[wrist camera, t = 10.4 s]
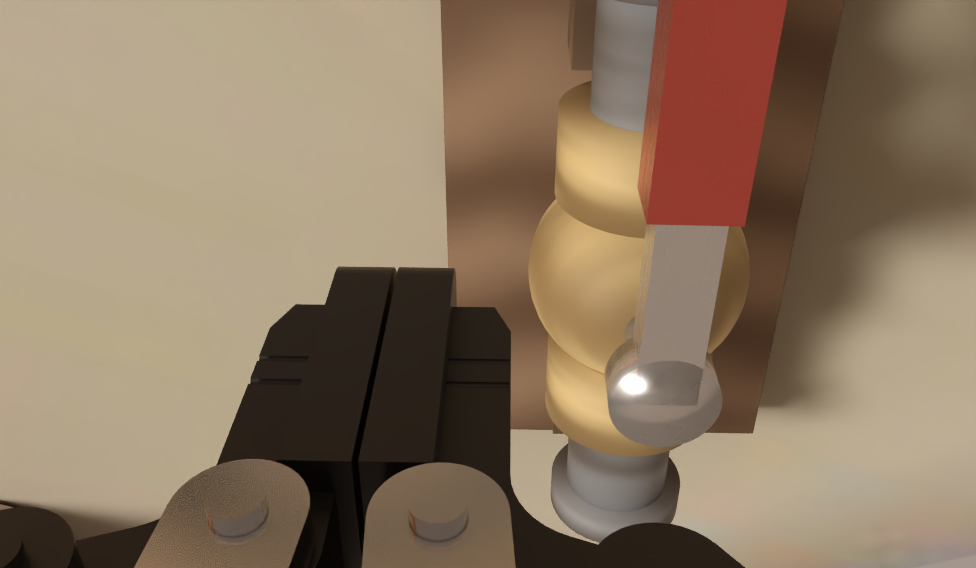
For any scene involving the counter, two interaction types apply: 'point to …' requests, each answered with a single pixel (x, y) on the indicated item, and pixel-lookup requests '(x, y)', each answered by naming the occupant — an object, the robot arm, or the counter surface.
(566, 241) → the valve rig
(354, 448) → the robot arm
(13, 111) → the counter surface
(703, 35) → the valve lever
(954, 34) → the counter surface
